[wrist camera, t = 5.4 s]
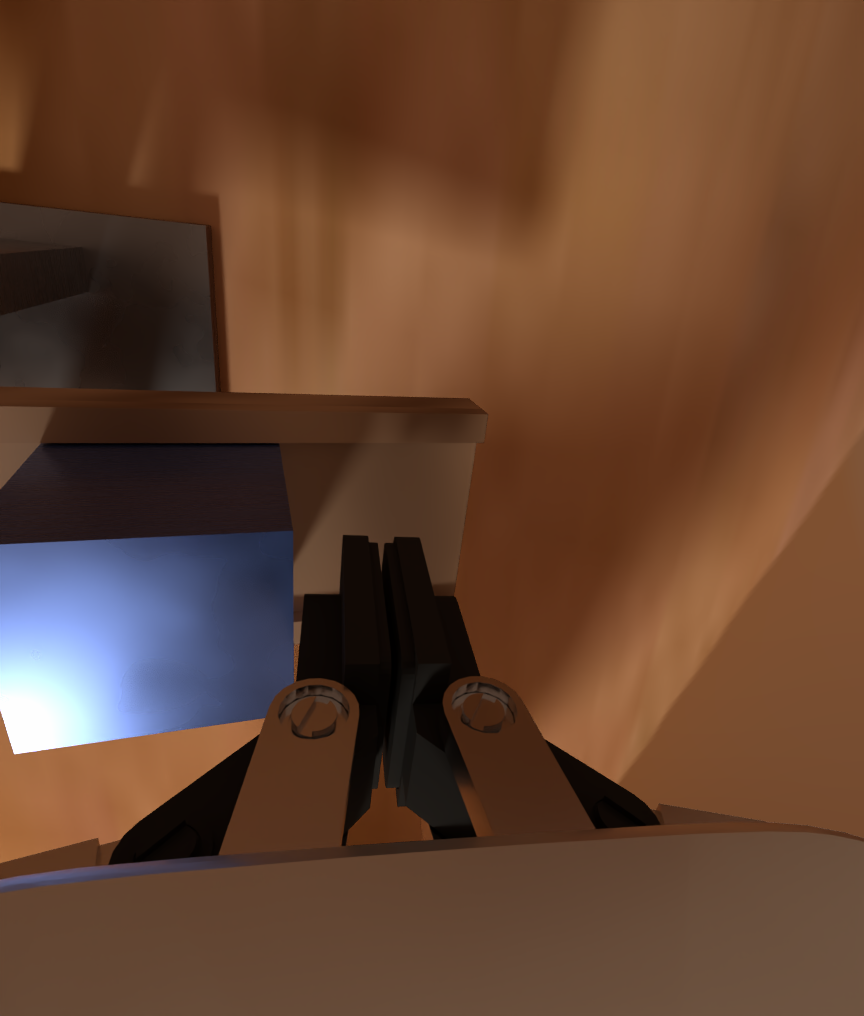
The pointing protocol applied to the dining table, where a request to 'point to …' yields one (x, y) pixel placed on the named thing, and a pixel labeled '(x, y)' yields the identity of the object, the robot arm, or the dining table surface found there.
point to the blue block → (143, 590)
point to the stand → (105, 302)
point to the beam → (294, 460)
